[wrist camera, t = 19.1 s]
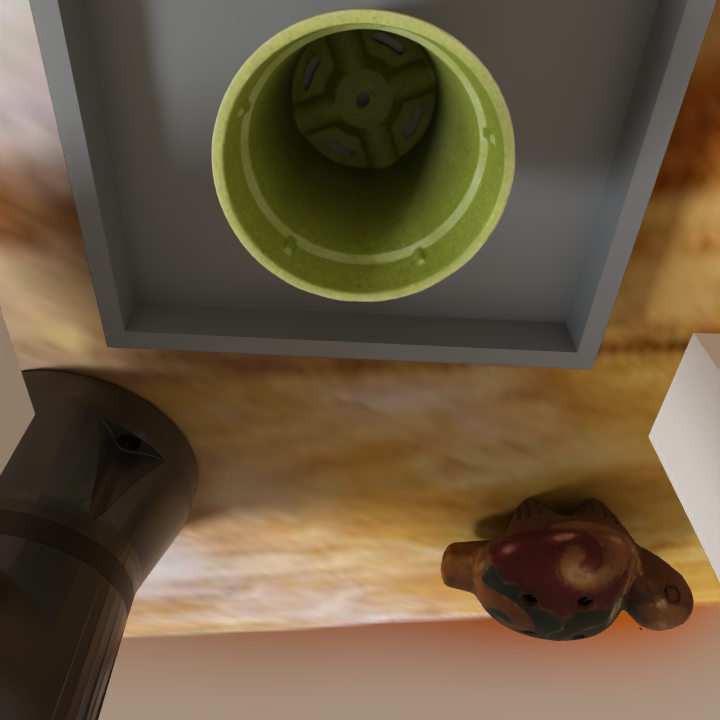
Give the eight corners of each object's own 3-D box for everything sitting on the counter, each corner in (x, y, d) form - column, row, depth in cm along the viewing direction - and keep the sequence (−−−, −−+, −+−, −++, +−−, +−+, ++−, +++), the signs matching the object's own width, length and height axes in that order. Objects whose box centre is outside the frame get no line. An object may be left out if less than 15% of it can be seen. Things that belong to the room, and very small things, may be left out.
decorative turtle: (659, 552, 48) (693, 664, 42) (448, 563, 51) (452, 669, 45) (673, 466, 42) (716, 582, 36) (432, 483, 45) (434, 593, 39)
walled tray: (574, 329, 36) (592, 369, 33) (127, 307, 36) (107, 347, 33) (760, -284, 21) (818, -303, 19) (2, -337, 21) (-53, -364, 18)
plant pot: (296, -85, 24) (267, -55, 17) (522, 29, 26) (576, 96, 19) (222, 150, 29) (178, 245, 22) (416, 229, 31) (429, 337, 25)
